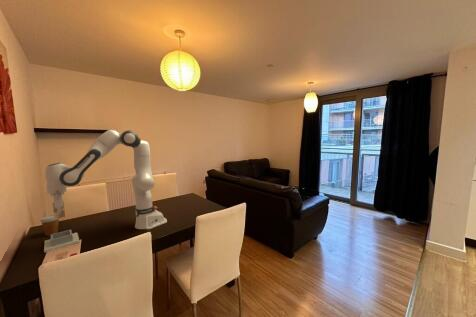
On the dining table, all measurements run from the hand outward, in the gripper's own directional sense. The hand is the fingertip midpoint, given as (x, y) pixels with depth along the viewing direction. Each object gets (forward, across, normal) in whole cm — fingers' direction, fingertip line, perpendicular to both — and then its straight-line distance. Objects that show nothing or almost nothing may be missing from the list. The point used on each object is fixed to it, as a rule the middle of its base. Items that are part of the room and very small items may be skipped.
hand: (59, 211), depth 123 cm
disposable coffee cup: (+21, +22, +5) cm, 31 cm away
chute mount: (+21, 0, 0) cm, 21 cm away
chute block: (+4, 0, 0) cm, 4 cm away
